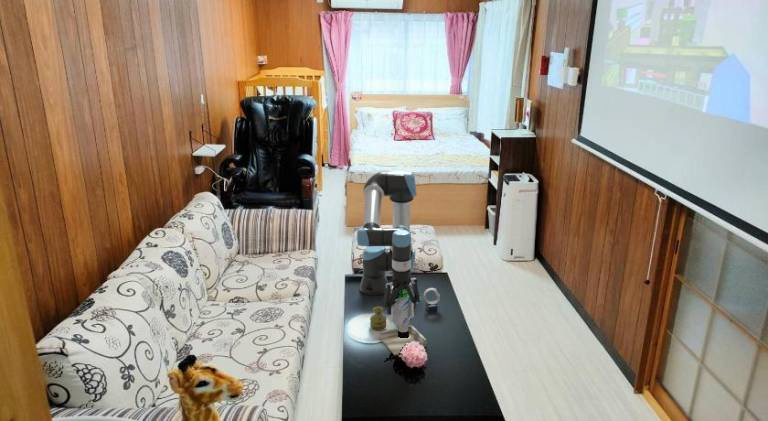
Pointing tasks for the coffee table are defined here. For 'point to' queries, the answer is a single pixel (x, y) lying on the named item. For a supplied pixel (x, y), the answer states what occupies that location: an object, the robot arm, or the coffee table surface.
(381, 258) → the robot arm
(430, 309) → the watch
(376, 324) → the gold round knobbed cylinder
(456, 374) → the coffee table surface
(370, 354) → the coffee table surface
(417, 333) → the corner arena
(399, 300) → the medicine box
